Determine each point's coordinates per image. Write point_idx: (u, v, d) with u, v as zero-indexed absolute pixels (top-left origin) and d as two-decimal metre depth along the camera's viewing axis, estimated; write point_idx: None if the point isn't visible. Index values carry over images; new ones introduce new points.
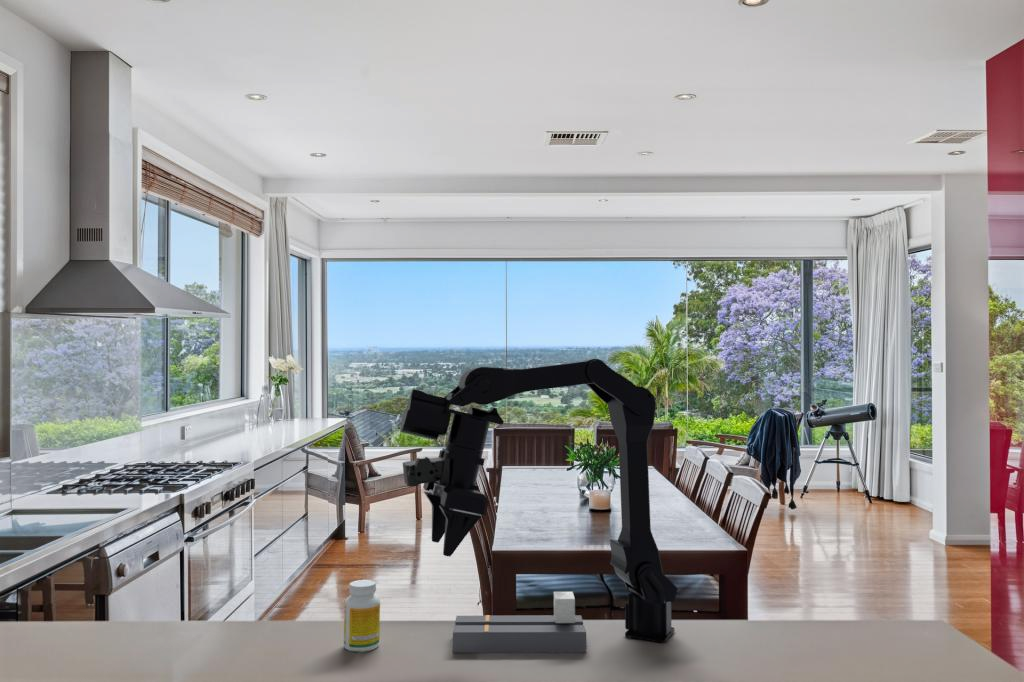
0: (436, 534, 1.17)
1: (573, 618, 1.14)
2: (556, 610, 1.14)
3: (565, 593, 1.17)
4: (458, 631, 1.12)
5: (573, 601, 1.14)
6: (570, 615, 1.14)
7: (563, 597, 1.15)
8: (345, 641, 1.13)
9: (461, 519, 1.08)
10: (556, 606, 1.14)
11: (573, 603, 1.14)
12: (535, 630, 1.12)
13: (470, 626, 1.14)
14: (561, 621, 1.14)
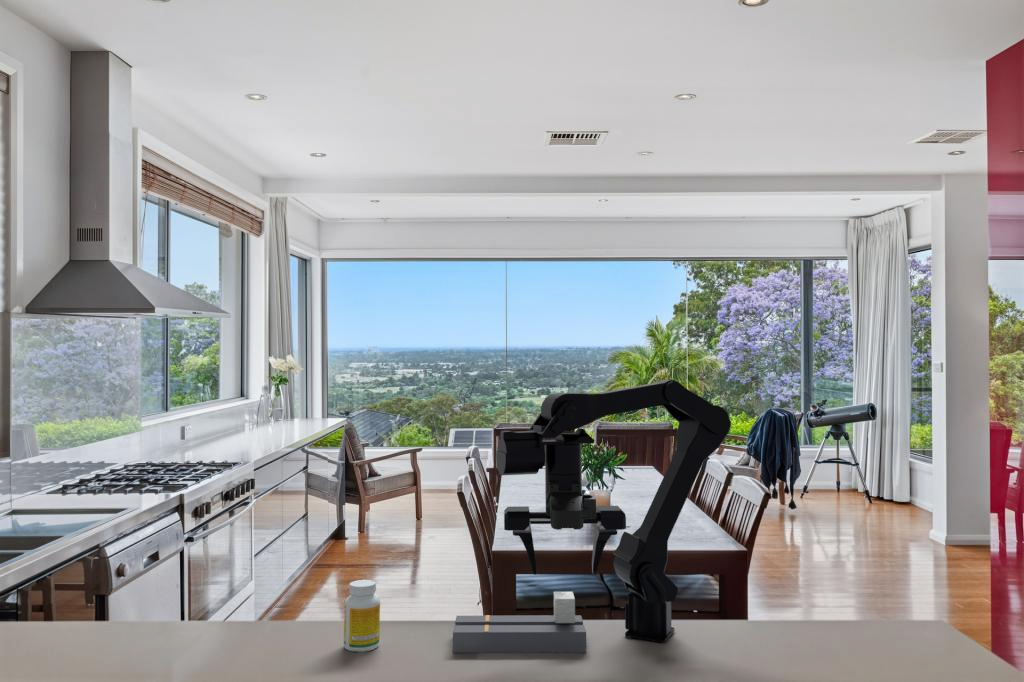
0: None
1: (573, 618, 1.14)
2: (556, 610, 1.14)
3: (565, 593, 1.17)
4: (458, 631, 1.12)
5: (573, 601, 1.14)
6: (570, 615, 1.14)
7: (563, 597, 1.15)
8: (345, 641, 1.13)
9: None
10: (556, 606, 1.14)
11: (573, 603, 1.14)
12: (535, 630, 1.12)
13: (470, 626, 1.14)
14: (561, 621, 1.14)
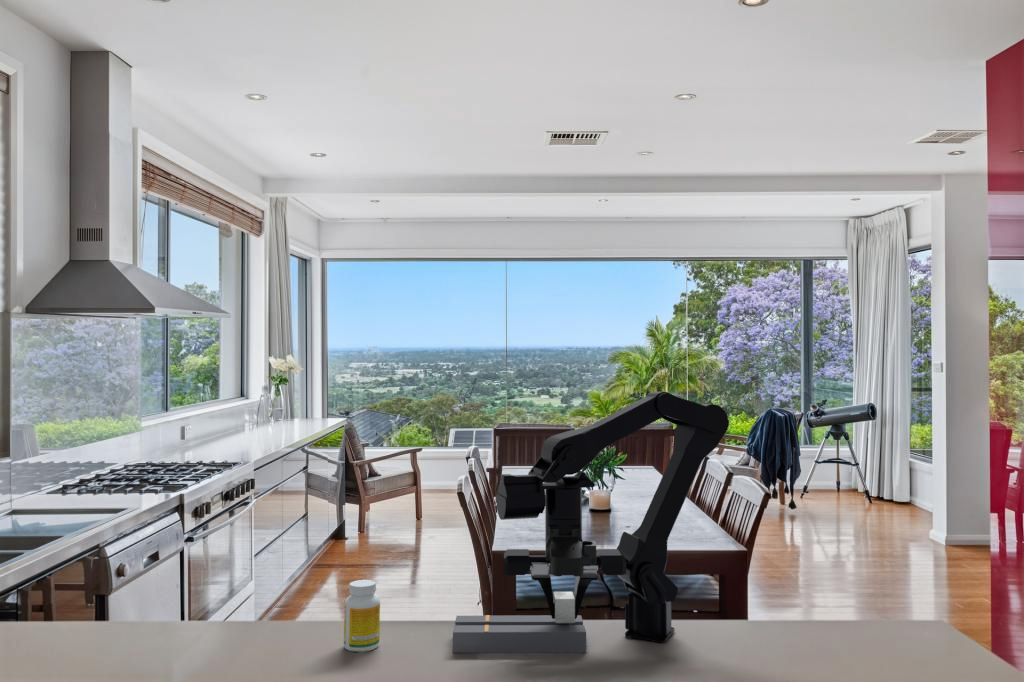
0: None
1: (573, 618, 1.14)
2: (556, 610, 1.14)
3: (565, 593, 1.17)
4: (458, 631, 1.12)
5: (573, 601, 1.14)
6: (570, 615, 1.14)
7: (563, 597, 1.15)
8: (345, 641, 1.13)
9: None
10: (556, 606, 1.14)
11: (572, 603, 1.14)
12: (535, 630, 1.12)
13: (470, 626, 1.14)
14: (561, 621, 1.14)
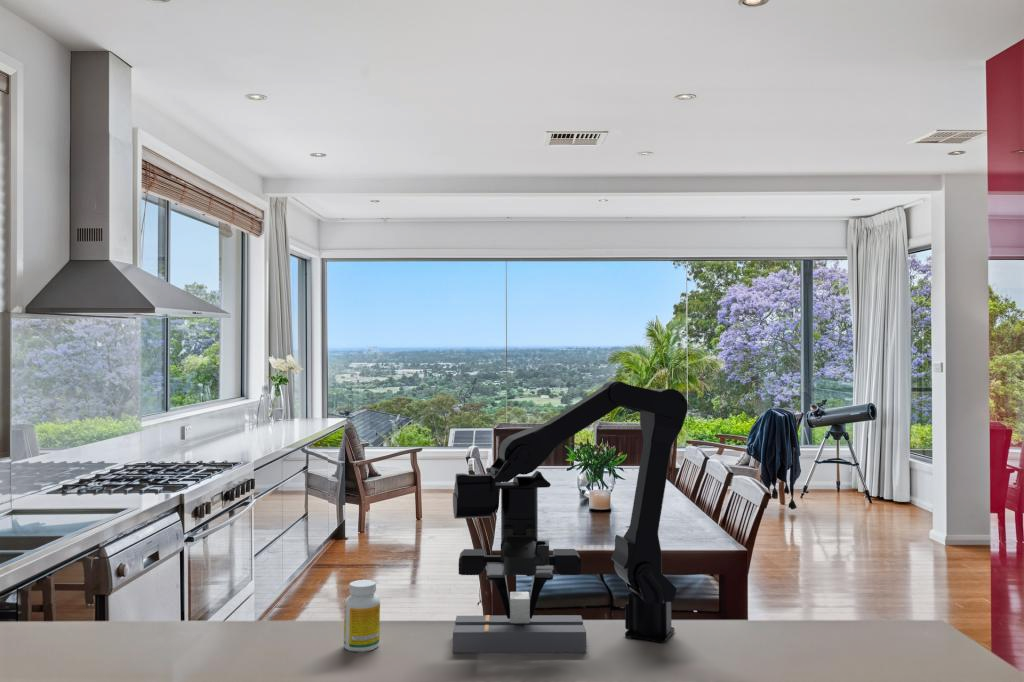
0: None
1: (528, 618, 1.14)
2: (511, 610, 1.14)
3: (521, 593, 1.17)
4: (458, 631, 1.12)
5: (528, 601, 1.14)
6: (525, 615, 1.14)
7: (518, 597, 1.15)
8: (345, 641, 1.13)
9: None
10: (511, 606, 1.14)
11: (527, 603, 1.14)
12: (535, 630, 1.12)
13: (470, 626, 1.14)
14: (516, 621, 1.14)
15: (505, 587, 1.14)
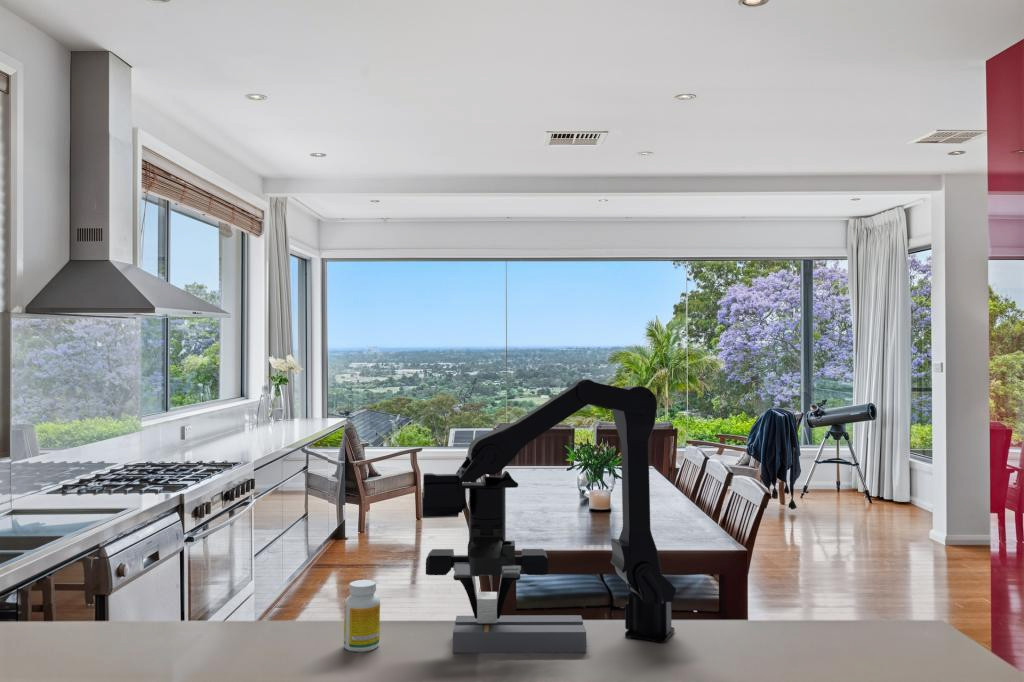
0: None
1: (495, 618, 1.14)
2: (478, 610, 1.14)
3: (489, 593, 1.17)
4: (458, 631, 1.12)
5: (495, 601, 1.14)
6: (492, 615, 1.14)
7: (486, 597, 1.15)
8: (345, 641, 1.13)
9: None
10: (478, 606, 1.14)
11: (494, 603, 1.14)
12: (535, 630, 1.12)
13: (470, 626, 1.14)
14: (483, 621, 1.14)
15: (472, 587, 1.14)
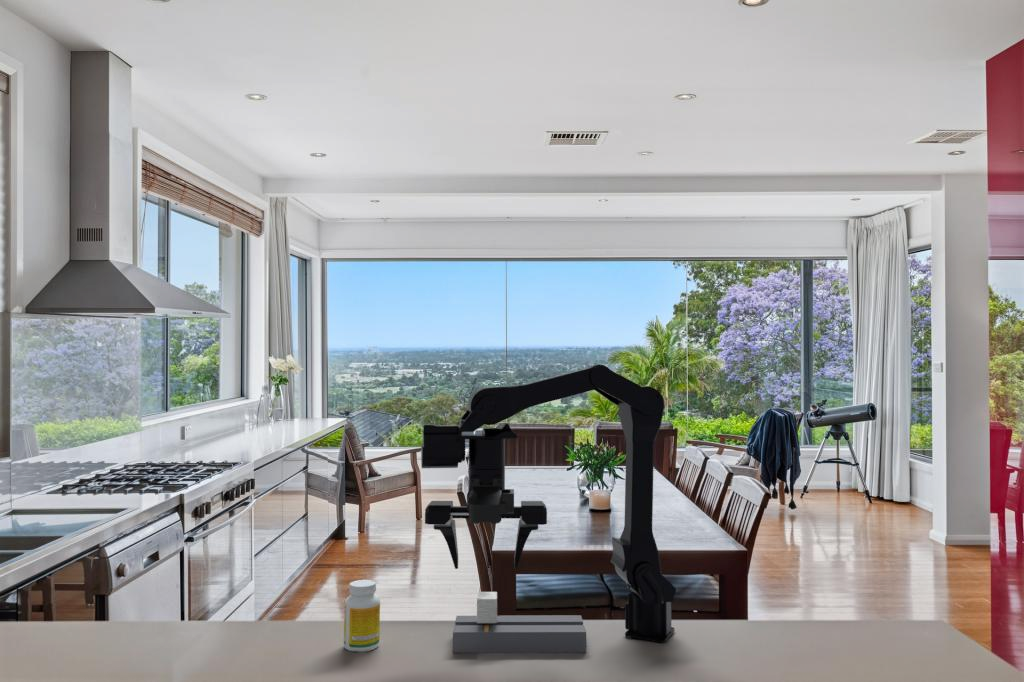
0: None
1: (495, 618, 1.14)
2: (478, 610, 1.14)
3: (489, 593, 1.17)
4: (458, 631, 1.12)
5: (495, 601, 1.14)
6: (492, 615, 1.14)
7: (485, 597, 1.15)
8: (345, 641, 1.13)
9: None
10: (478, 606, 1.14)
11: (494, 603, 1.14)
12: (535, 630, 1.12)
13: (470, 626, 1.14)
14: (483, 621, 1.14)
15: (453, 537, 1.15)
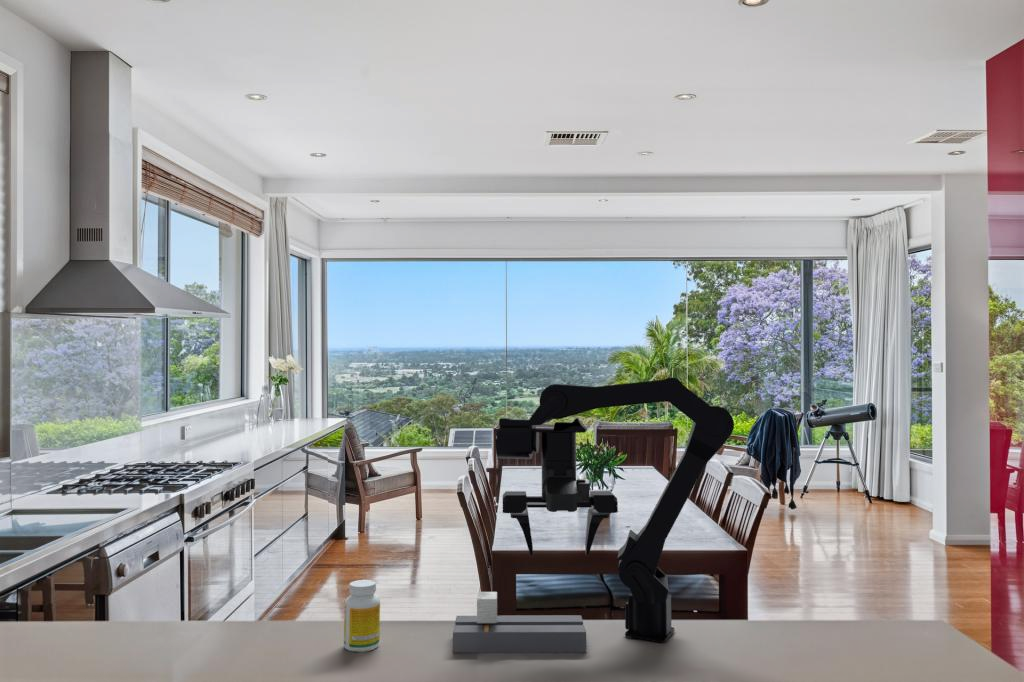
0: (532, 547, 1.23)
1: (495, 618, 1.14)
2: (478, 610, 1.14)
3: (489, 593, 1.17)
4: (458, 631, 1.12)
5: (495, 601, 1.14)
6: (492, 615, 1.14)
7: (485, 597, 1.15)
8: (345, 641, 1.13)
9: None
10: (478, 606, 1.14)
11: (494, 603, 1.14)
12: (535, 630, 1.12)
13: (470, 626, 1.14)
14: (483, 621, 1.14)
15: (528, 525, 1.22)
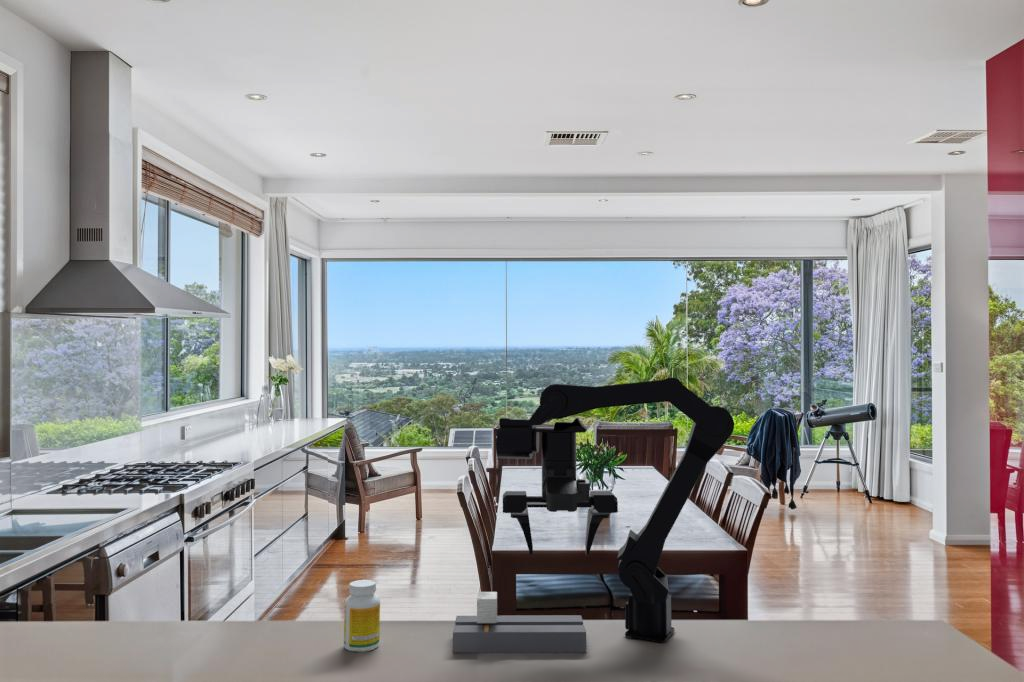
0: (532, 547, 1.23)
1: (495, 618, 1.14)
2: (478, 610, 1.14)
3: (489, 593, 1.17)
4: (458, 631, 1.12)
5: (495, 601, 1.14)
6: (492, 615, 1.14)
7: (485, 597, 1.15)
8: (345, 641, 1.13)
9: None
10: (478, 606, 1.14)
11: (494, 603, 1.14)
12: (535, 630, 1.12)
13: (470, 626, 1.14)
14: (483, 621, 1.14)
15: (528, 525, 1.22)
